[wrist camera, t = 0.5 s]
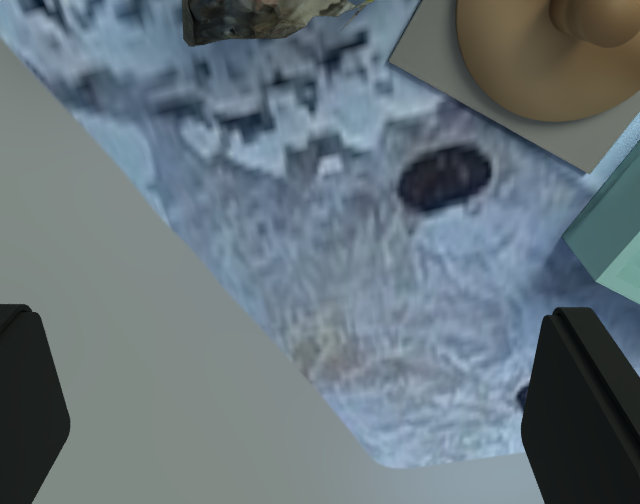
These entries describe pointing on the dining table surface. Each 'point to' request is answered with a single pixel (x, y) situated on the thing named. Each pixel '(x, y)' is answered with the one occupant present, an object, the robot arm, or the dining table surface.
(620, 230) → the green square box
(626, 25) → the lid
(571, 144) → the mat
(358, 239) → the dining table surface
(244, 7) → the mottled brown rock
